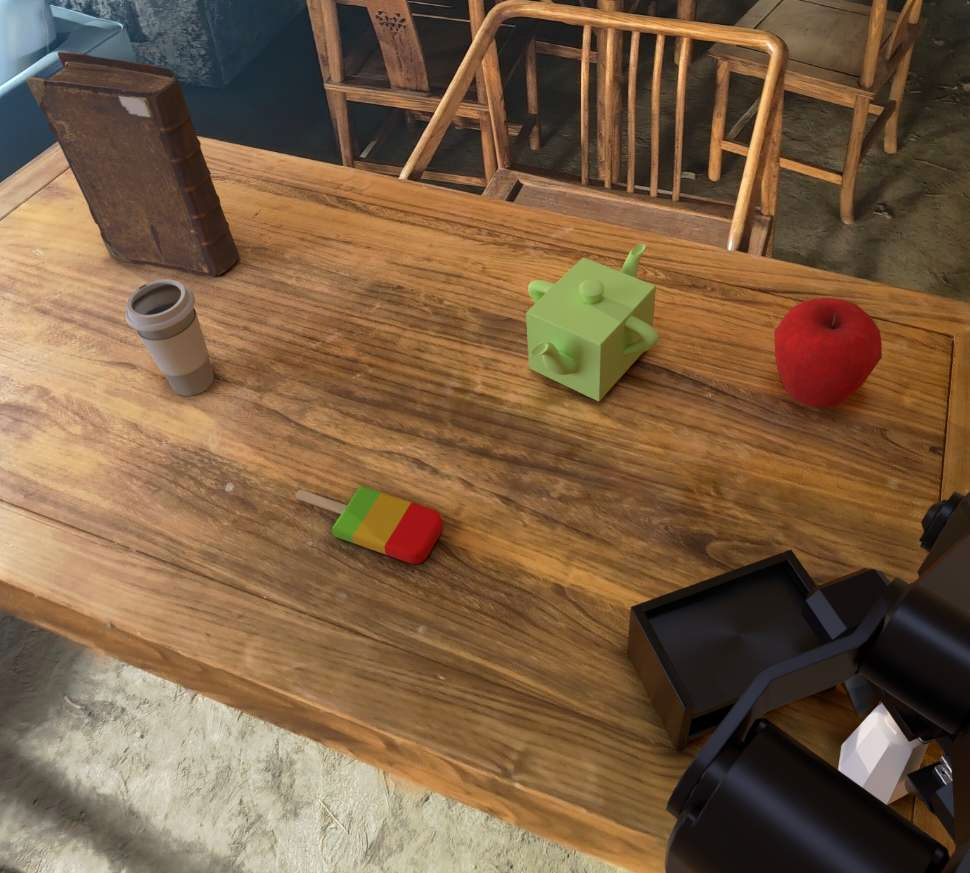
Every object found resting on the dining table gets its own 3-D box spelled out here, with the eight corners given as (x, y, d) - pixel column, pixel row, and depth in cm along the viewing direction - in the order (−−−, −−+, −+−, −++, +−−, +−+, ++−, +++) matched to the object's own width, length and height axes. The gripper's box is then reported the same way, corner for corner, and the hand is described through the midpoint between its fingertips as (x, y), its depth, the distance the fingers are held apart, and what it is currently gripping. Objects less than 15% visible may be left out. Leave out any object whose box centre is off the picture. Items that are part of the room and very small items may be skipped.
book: (247, 256, 116) (183, 67, 98) (213, 291, 112) (140, 101, 94) (144, 229, 122) (65, 44, 103) (108, 261, 118) (19, 75, 99)
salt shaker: (898, 732, 71) (941, 664, 63) (923, 804, 67) (971, 742, 59) (827, 736, 71) (860, 670, 63) (848, 808, 68) (886, 747, 59)
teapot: (639, 309, 105) (644, 232, 97) (679, 392, 96) (689, 315, 88) (507, 335, 103) (501, 259, 95) (535, 422, 95) (532, 346, 87)
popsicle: (422, 569, 84) (419, 558, 83) (283, 520, 89) (278, 508, 87) (448, 523, 87) (446, 511, 86) (313, 478, 92) (309, 466, 91)
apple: (744, 383, 96) (760, 303, 88) (814, 346, 99) (836, 265, 91) (812, 443, 90) (836, 363, 82) (885, 402, 93) (915, 321, 85)
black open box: (836, 689, 74) (857, 643, 68) (676, 751, 71) (685, 709, 66) (775, 598, 79) (791, 548, 74) (626, 653, 77) (630, 606, 71)
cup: (203, 350, 106) (168, 266, 96) (236, 377, 102) (203, 294, 93) (149, 383, 103) (108, 301, 93) (181, 413, 99) (142, 330, 90)
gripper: (1192, 741, 50) (1077, 834, 62) (965, 489, 62) (904, 607, 74) (1017, 817, 49) (933, 898, 60) (818, 542, 60) (780, 655, 72)
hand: (887, 750), depth 67 cm, fingers closed on salt shaker, 5 cm apart
